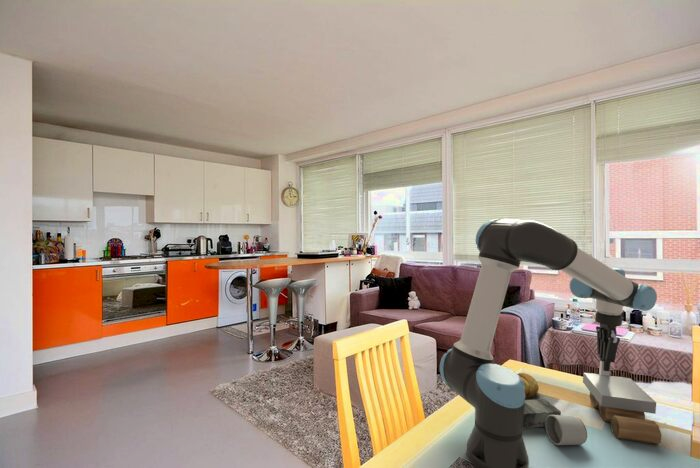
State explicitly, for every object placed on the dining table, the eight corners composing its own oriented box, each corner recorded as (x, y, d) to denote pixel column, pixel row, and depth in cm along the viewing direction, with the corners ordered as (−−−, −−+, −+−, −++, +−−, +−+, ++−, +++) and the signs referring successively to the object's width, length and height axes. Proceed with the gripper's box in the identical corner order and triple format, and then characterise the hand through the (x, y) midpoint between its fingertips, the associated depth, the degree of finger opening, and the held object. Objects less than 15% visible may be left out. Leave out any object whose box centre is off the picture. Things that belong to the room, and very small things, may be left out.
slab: (601, 406, 110) (602, 395, 110) (582, 382, 125) (583, 372, 125) (655, 413, 106) (656, 402, 106) (629, 388, 122) (630, 378, 121)
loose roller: (610, 430, 108) (611, 412, 108) (649, 436, 105) (650, 417, 105) (618, 441, 103) (620, 422, 102) (660, 448, 100) (661, 429, 100)
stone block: (500, 412, 117) (501, 397, 116) (542, 411, 118) (543, 396, 117) (515, 429, 108) (515, 412, 107) (560, 428, 109) (561, 411, 108)
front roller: (644, 429, 108) (645, 410, 108) (606, 424, 111) (607, 405, 110) (634, 418, 114) (635, 400, 113) (598, 413, 117) (599, 395, 116)
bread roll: (531, 386, 134) (532, 366, 133) (547, 400, 124) (549, 378, 124) (498, 387, 133) (499, 366, 132) (512, 401, 123) (513, 379, 122)
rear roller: (631, 415, 116) (632, 397, 115) (596, 410, 118) (597, 392, 118) (622, 405, 122) (623, 388, 121) (589, 400, 124) (590, 384, 124)
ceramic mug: (589, 450, 98) (590, 423, 98) (561, 451, 98) (562, 424, 97) (562, 427, 109) (564, 403, 108) (537, 428, 108) (538, 403, 108)
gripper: (631, 318, 116) (625, 389, 117) (613, 308, 128) (608, 371, 130) (604, 316, 118) (599, 385, 119) (589, 306, 130) (585, 369, 132)
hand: (604, 378), depth 125 cm, fingers closed
